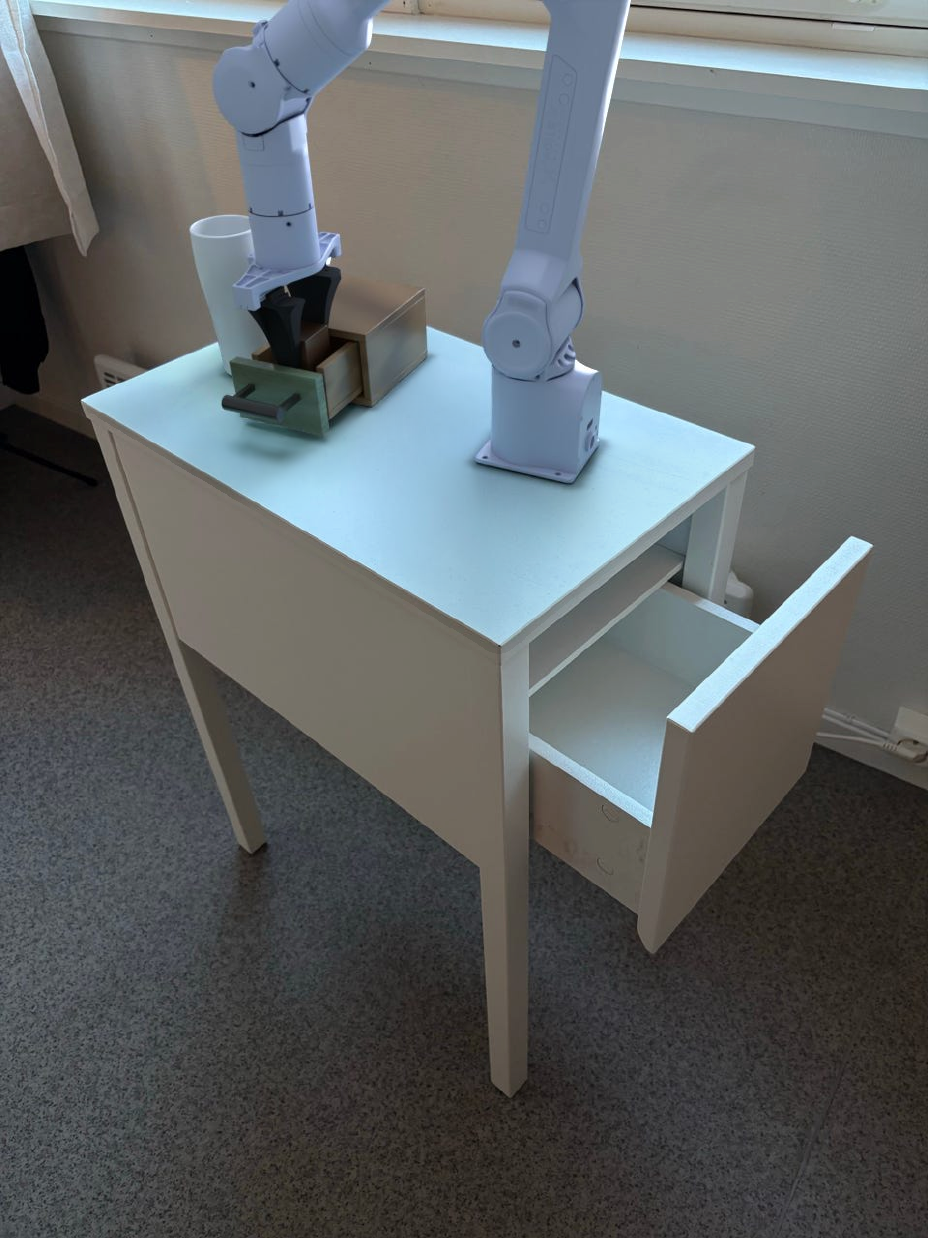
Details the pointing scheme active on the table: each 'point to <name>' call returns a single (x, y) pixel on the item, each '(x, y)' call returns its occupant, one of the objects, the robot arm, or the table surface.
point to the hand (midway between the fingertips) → (302, 355)
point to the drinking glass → (226, 282)
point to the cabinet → (381, 330)
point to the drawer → (296, 388)
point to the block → (312, 345)
